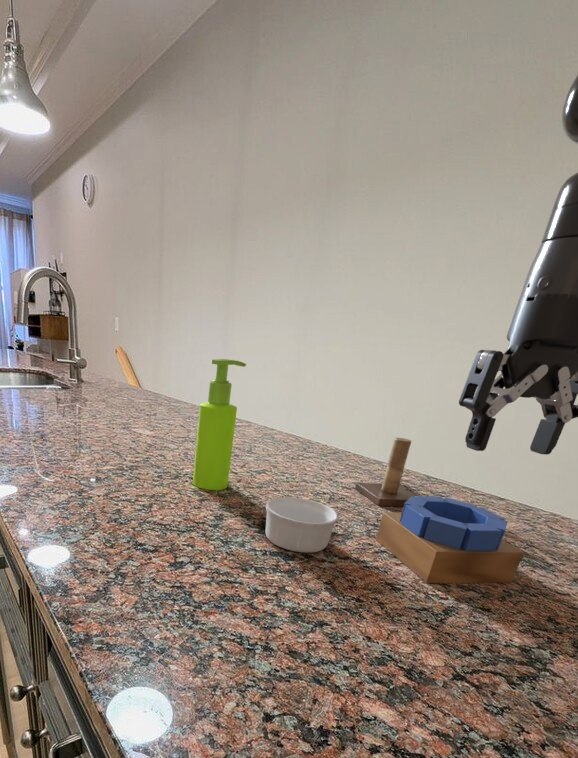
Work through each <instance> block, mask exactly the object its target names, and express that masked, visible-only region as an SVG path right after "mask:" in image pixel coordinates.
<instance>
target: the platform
mask: <svg viewBox="0 0 578 758" xmlns="http://www.w3.org/2000/svg"><path fill="white" fill-rule="evenodd" d="M401 514H402V512H392V511H389V512H387V511H383V512H382V516H381V519H380V522H379V526H378V530H377V534H376V537H375V540H376V541H377V542H378V543H379V544H381V545H382V546H383V547H384V548H385V549H386V550H387V551H389V552H390V553H391V554H392V555H393V556H394V557H396V558H397V560H399V561H400V562H401V563H402V564H404V566H406V567H407V568H408V569H409V570H411V571H412V572H413V573H415V575H417V576H418V578H420V579H421V580H422V581H424V582H425V584H511V583H512V582H513V580H514V578H515V576H516V573H517V571H518V568H519V565H520V564H521V561H522V558H523V556H524V554H525V552H524V551H523V550H521V549H519V548H518V547H516V546H514V545H512V544H510V543H509V542H507V541H505V540H503V539H502V540H501V543H500V546H499V548H498V550H496V549H495V551H465V550H464V549H462V548H461V547H460V549H455V548H452V547H449V546H446V545H442V544H439V543H436V542H432V541H429V540H426V539H424V537H420V536H417V535H416V534H414V533H413V532H412V531H410V530H409V529H407V528H406V527H405V526H403V525H402V524H401V522H400V518H401Z"/></svg>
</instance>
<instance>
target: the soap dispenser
mask: <svg viewBox="0 0 578 758" xmlns="http://www.w3.org/2000/svg"><path fill="white" fill-rule="evenodd" d="M211 364H212V365H215V366H216V372H215V379H213V380H210V381H209V386H208V397H207V401H205V402H200V403H199V407H198V418H197V431H196V442H195V452H194V453H195V454H194V464H193V475H192V485H194V486H195V487H196V488H199V489H203V490H207V491H208V490H209V491H221V490H225V489H227V488H228V484H229V478H230V477H229V476H230V469H231V461H232V452H233V445H234V444H233V443H234V436H235V428H236V420H237V419H236V418H237V411H238V407H237V406H235V405H234V404H231V403H230V402H231V393H232V386H233V385H232V383H231V382H230V380H228V370H229V366H233V365H234V366H238V367H243V368H245V367H246V366H247V364H246V363H245V362H242V361H239V360H235V359H229V358H218V359H217V358H216V359H212V360H211Z"/></svg>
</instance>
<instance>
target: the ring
mask: <svg viewBox="0 0 578 758" xmlns="http://www.w3.org/2000/svg"><path fill="white" fill-rule="evenodd" d="M401 513H402V514H401V518H400V522H401V524H402V525H403V526H405V527H406V528H407V529H409V530H410V531H412V532H413V533H414V534H416V535H417V536H420V537H424V539H426V540H429V541H432V542H436V543H439V544H442V545H446V546H449V547H452V548H455V549H460V547H461V548H462V549H464V550H465V551H495V549H496V550H498V548H499V546H500V543H501V540H503V538H504V535H505V532H506V530H507V525H508V521H507V520H505V518H504V517H502V516H500V515H498V514H496V513H495V512H492V511H490V510H488V509H486V508H484V507H482V506H478V505H477V504H475V503H474V504H473V503H470V502H467V501H462V500H457V499H454V498H450V497H446V496H445V497H444V498H443V497H441V496H435V495H433V496H432V495H416V496H414V497H413V496H411V497H410V498H409V499H408V500H407V501H406V502H405V504H404V506H402V511H401Z"/></svg>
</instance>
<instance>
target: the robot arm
mask: <svg viewBox="0 0 578 758" xmlns="http://www.w3.org/2000/svg"><path fill="white" fill-rule="evenodd" d="M561 124H562V129H563V132H564V135H565V136H566V137H567V138H568V140H570V141H571V142H572V143H575V144H577V145H578V74H577V75H576V77H575V78H574V80H573V82H572V84H571V85H570V87H569V89H568V91H567V94H566V96H565V100H564V102H563V107H562V112H561ZM506 340H507V341H508V342H509V343H508V345H507V346H508V347H507V348H506V349H505V351H504V352H503V351H501V350H493V349H479V350H478V351H477V352H476V353H475V356H474V359H473V361H472V364H471V367H470V370H469V372H468V374H467V378H466V381H465V383H464V386H463V389H462V391H461V394H460V396H459V399H458V405H459V406H460V407H464V408H465V409H467V410H470V412H471V414H472V417H471V420H470V422H469V425H468V429H467V431H466V434H465V438H464V439H465V441H464V442H465V447H466V448H467V449H471V450H474V451H477V452H483V451H486V448H487V446H488V444H489V440H490V437H491V435H492V431H493V429H494V426H495V423H496V421H497V418H495V416H496V415H497V414H498V413H499V412H500V411H502V410H503V409H504V408H505V407H506V406H507V405H509V404H511V403H514V402H515V401H516V400H518V399H519V398H525V399H526V398H527V399H529V398H534V399H535V400H536V402H537V403H538V404H540V407H541V411H542V415H543V418H541V419H540V421H539V422H538V426H537V428H536V431H535V433H534V436H533V438H532V441H531V444H530V446H529V449H530V452H533V453H537V454H539V455H546V456H547V455H550V454H551V453H552V451H553V450H554V449H555V448H556V446H557V444H558V441H559V439H560V437H561V434H562V432H563V430H564V427H565V425H566V424H567V423H569V422H570V421H571V420H573V419H576V418H578V404H575V403H576V400H577V397H578V172H576V173H574V174H572V175H571V176H570V177H568V178H567V179H566V180H565V182H563V183H562V185H561V187H560V188H559V191H558V193H557V195H556V197H555V199H554V203H553V206H552V209H551V213H550V214H549V218H548V220H547V223H546V227H545V230H544V233H543V235H542V239H541V242H540V244H539V247H538V250H537V252H536V254H535V256H534V259H532V262H531V265H530V266H529V269H528V272H527V273H526V277H525V281H524V284H523V286H522V289H521V292H520V295H519V298H518V302H517V304H516V307H515V310H514V313H513V315H512V318H511V322H510V326H509V327H508V331H507V334H506ZM499 372H500V374H499V375H498V373H499ZM497 375H498V376H497Z"/></svg>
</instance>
